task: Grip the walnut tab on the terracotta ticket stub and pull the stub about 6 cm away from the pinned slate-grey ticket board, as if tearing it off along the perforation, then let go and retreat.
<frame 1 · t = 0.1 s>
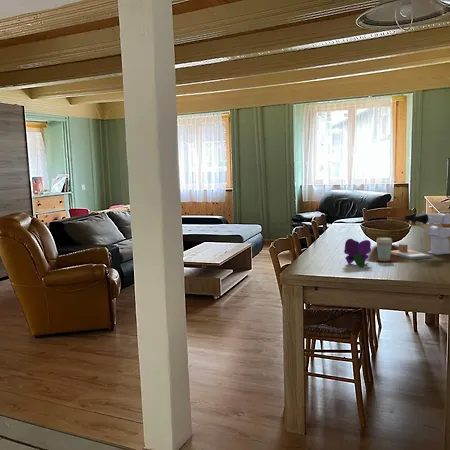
hand: (409, 218, 262), 22 cm above the table, tool horizontal, fingers open, 7 cm apart
stub: (403, 249, 270), point 3 cm above the table, slide at 0.0 cm
ticket board: (414, 257, 261), on the table
flower: (359, 266, 243), on the table
coffee cup: (384, 260, 256), on the table
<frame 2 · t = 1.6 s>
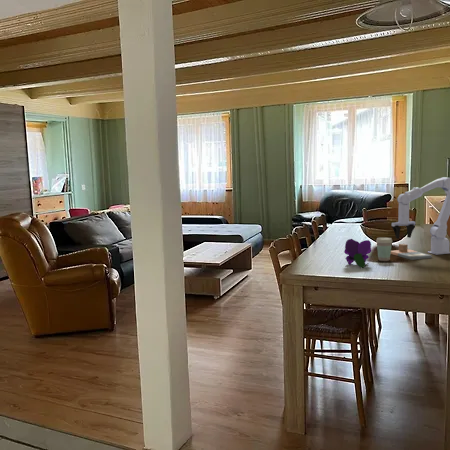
hand: (403, 237, 270), 9 cm above the table, tool pointing down, fingers open, 7 cm apart
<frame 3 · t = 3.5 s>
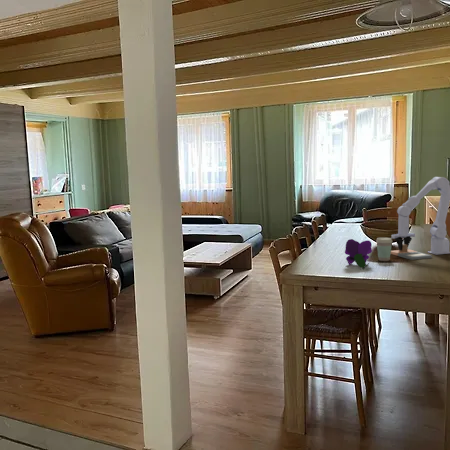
hand: (403, 249, 270), 2 cm above the table, tool pointing down, fingers closed on stub, 3 cm apart
stub: (403, 249, 270), point 3 cm above the table, slide at 0.0 cm, touching gripper
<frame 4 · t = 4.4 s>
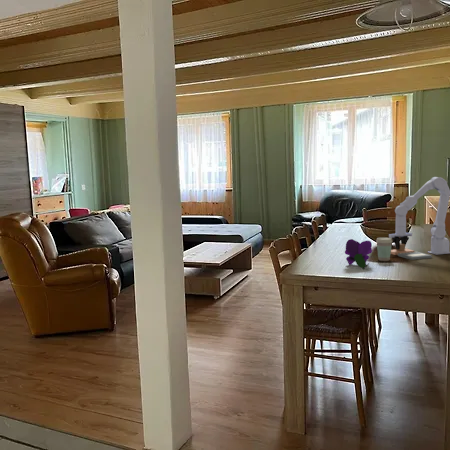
hand: (400, 249, 273), 2 cm above the table, tool pointing down, fingers closed on stub, 3 cm apart
stub: (400, 248, 273), point 3 cm above the table, slide at 2.5 cm, touching gripper
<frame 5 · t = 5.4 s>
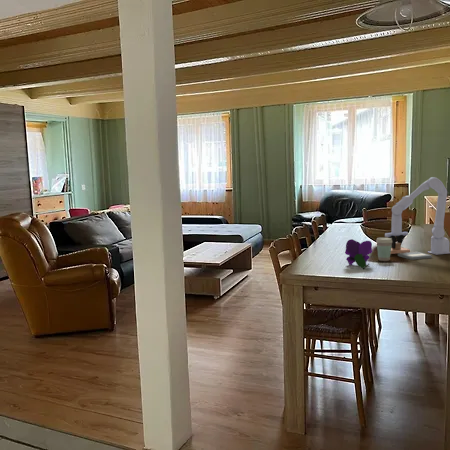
hand: (396, 248, 277), 2 cm above the table, tool pointing down, fingers closed on stub, 3 cm apart
stub: (396, 247, 276), point 3 cm above the table, slide at 6.4 cm, touching gripper
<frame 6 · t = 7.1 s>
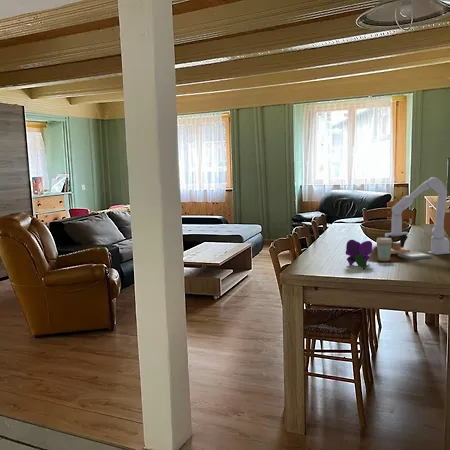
hand: (396, 248, 277), 2 cm above the table, tool pointing down, fingers open, 7 cm apart
stub: (396, 247, 276), point 3 cm above the table, slide at 6.4 cm
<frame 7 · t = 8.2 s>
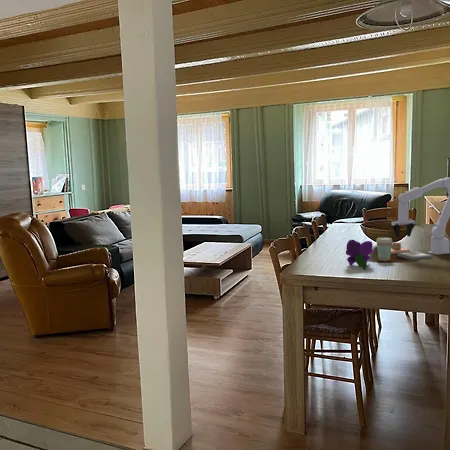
hand: (403, 236, 274), 9 cm above the table, tool pointing down, fingers open, 7 cm apart
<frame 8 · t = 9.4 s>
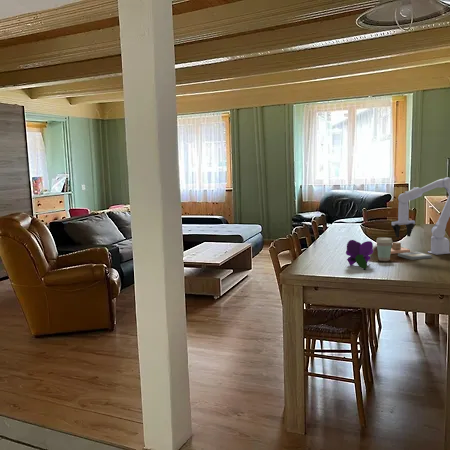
hand: (403, 236, 274), 9 cm above the table, tool pointing down, fingers open, 7 cm apart
at the end: stub slide at 6.4 cm; the gripper is holding nothing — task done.
